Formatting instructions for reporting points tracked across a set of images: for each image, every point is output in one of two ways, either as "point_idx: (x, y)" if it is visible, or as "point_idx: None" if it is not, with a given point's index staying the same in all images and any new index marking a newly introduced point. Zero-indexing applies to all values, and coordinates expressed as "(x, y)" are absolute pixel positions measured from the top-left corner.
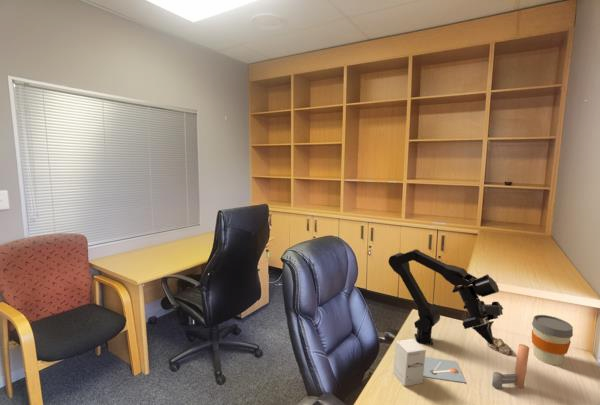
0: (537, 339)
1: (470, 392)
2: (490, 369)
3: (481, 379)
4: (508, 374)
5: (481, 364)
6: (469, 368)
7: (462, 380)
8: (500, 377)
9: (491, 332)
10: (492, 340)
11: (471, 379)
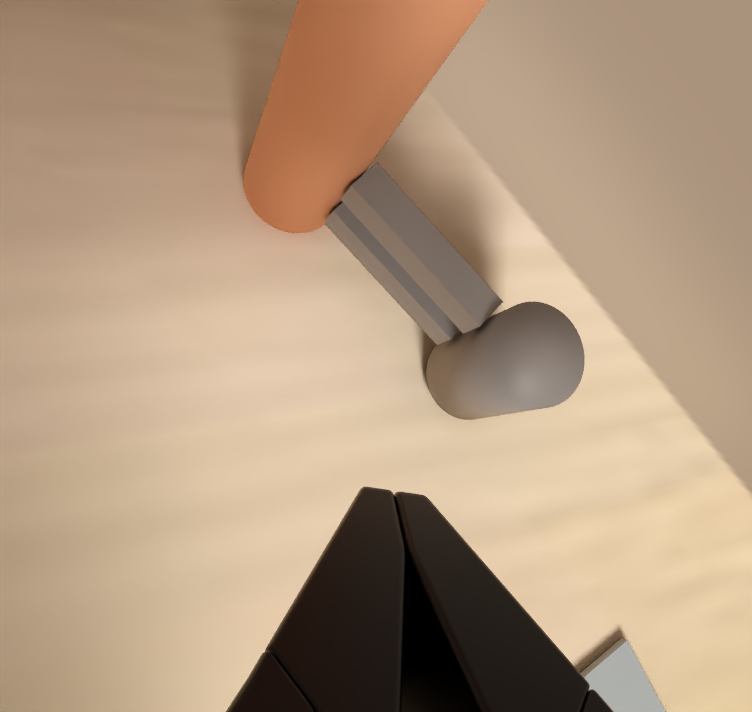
0: None
1: (706, 557)
2: (165, 490)
3: None
4: (419, 252)
5: (118, 615)
6: None
7: (624, 678)
8: (573, 325)
9: (313, 684)
10: (421, 534)
11: None
